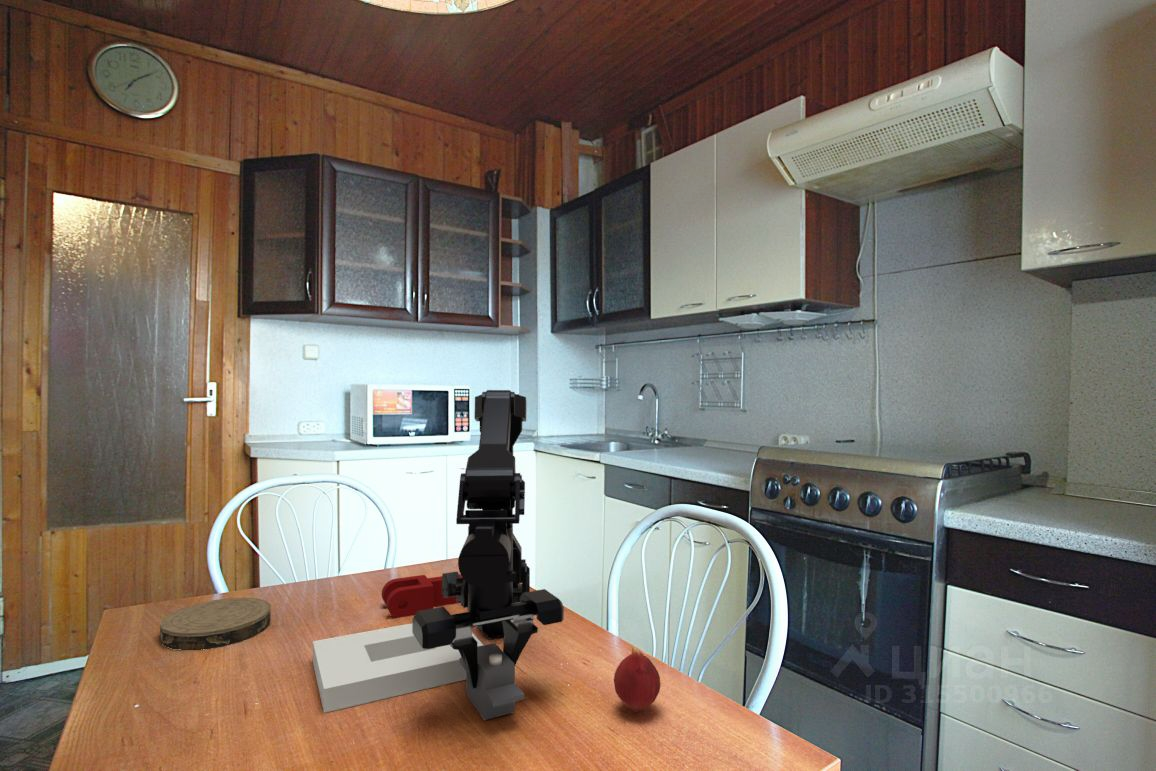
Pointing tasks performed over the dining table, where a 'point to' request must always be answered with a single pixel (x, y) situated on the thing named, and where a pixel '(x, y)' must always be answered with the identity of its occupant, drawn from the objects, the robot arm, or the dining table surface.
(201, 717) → the dining table surface
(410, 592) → the mechanical linkage
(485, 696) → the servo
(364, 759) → the dining table surface
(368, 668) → the frame
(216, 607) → the wood slice
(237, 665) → the dining table surface
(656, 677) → the onion
